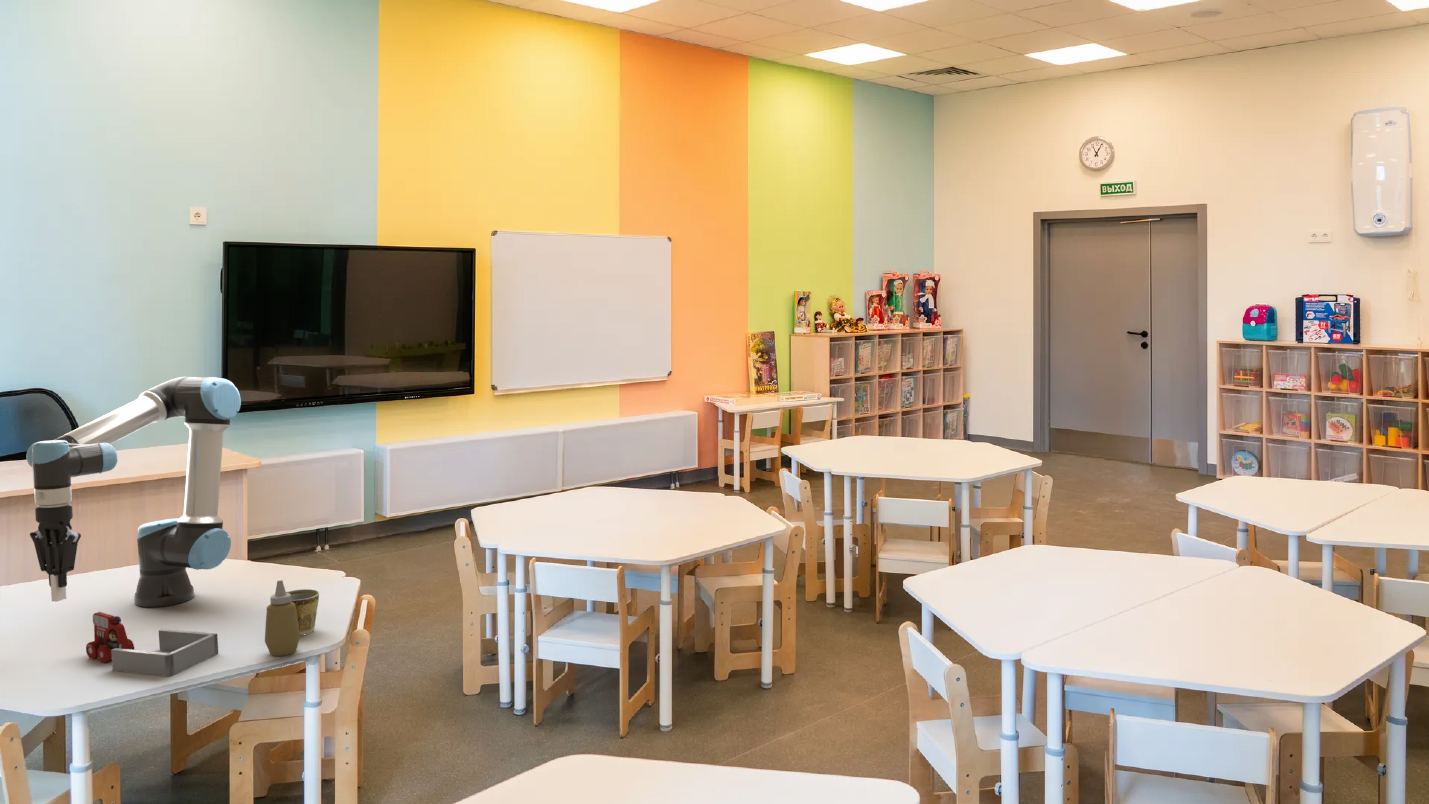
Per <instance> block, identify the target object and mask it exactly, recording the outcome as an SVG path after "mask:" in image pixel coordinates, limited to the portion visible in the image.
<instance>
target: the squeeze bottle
mask: <svg viewBox="0 0 1429 804" xmlns="http://www.w3.org/2000/svg"><path fill="white" fill-rule="evenodd" d="M284 585H285V584H284V582H283V580H281V579H280V580H277V581H276V585H275V586H276V587H275V590H274V591H275V592H274V594H272V595H270V604H268V605H267V606H266V614H265V628H264V629H265V632H264V643H265V645H266V647H267V648H266V649H268V652H269V654H270V655H271V656H274V657H275V656H276V657H282V656H288V655H291V654H292V655H293V654H294V653H296V652H297V648H298V646H299V642H300V639H301V636H300V631H299V624H298V618H297V612H296V605H295V603H293V602H291V594H289V593H286V592H287V591H286V588H285V586H284Z"/></svg>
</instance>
